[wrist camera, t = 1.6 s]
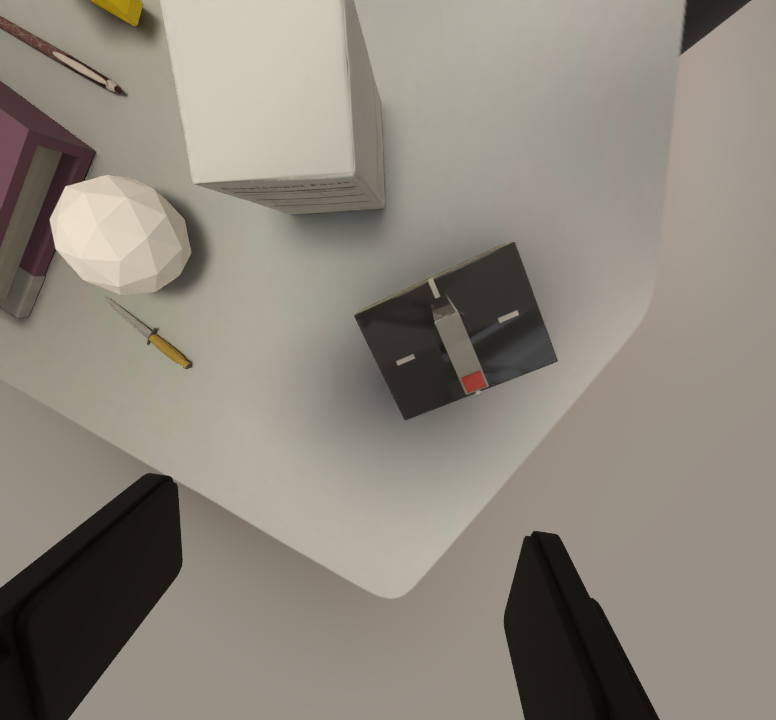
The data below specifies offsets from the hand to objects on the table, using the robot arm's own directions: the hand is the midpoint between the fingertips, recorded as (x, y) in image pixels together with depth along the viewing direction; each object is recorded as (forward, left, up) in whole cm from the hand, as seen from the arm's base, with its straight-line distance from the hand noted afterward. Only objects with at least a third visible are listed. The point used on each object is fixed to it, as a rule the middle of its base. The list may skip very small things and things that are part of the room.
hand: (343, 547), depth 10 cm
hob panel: (-5, 0, -21) cm, 21 cm away
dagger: (+19, -11, -21) cm, 31 cm away
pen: (+13, -30, -21) cm, 39 cm away
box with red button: (-5, 0, -18) cm, 19 cm away
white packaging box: (-2, -15, -21) cm, 26 cm away
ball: (+13, -16, -21) cm, 29 cm away
